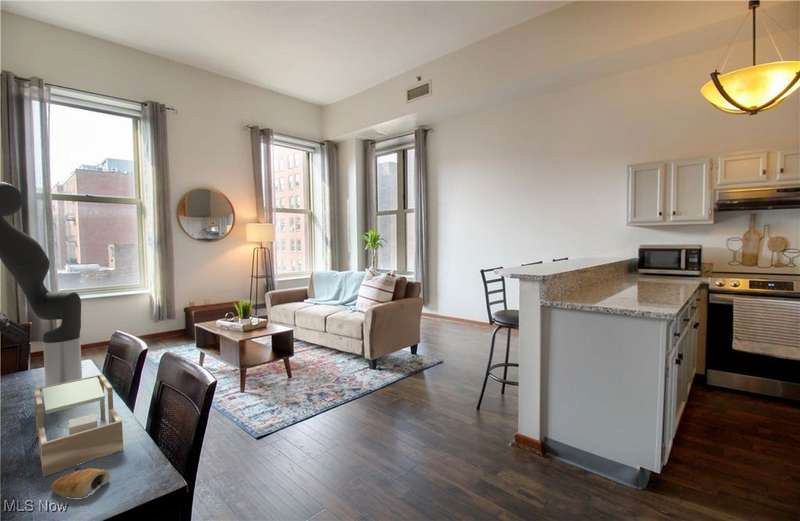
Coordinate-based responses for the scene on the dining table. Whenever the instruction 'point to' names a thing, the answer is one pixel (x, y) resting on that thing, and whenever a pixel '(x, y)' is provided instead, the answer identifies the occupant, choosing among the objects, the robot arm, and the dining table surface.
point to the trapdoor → (72, 394)
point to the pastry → (80, 483)
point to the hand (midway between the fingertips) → (22, 335)
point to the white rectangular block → (82, 423)
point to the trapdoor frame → (79, 436)
